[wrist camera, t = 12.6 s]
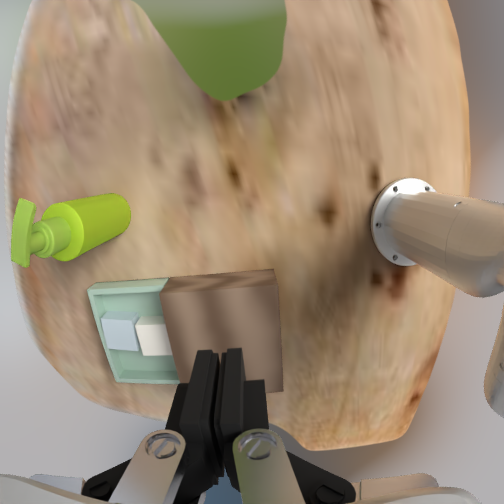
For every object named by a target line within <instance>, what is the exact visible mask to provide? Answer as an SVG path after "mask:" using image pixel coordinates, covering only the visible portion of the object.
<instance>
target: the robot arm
mask: <svg viewBox="0 0 504 504" xmlns="http://www.w3.org/2000/svg"><path fill="white" fill-rule="evenodd" d="M393 188H394V190H393ZM376 223H377V226H376ZM371 232H372V237H373V240H374V243H375V245H376V247H377V249H378V250H379V252H380V253H381V254H382V255H383V256H384V257H385V258H386V259H388V260H389V261H391V262H392V263H395V264H398V265H401V266H411V265H416V264H418V265H420V266H422V267H423V268H425V269H427V270H428V271H430V272H432V273H433V274H435V275H437V276H438V277H440V278H442V279H443V280H445V281H447V282H448V283H450V284H452V285H453V286H455V287H456V288H458V289H460V290H462V291H463V292H465V293H467V294H469V295H471V296H474V297H482V298H484V297H490V296H493V295H497V294H499V293H501V292H503V291H504V203H499V202H493V201H488V200H480V199H474V198H469V197H463V196H457V195H451V194H444V193H437V192H436V190H435V189H434V188H433V187H432V186H431V185H430V184H428V183H427V182H425V181H423V180H420V179H417V178H402V179H398V180H396V181H394V182H392V183H390V184H389V185H388V186H387V187H385V188H384V190H383V191H382V192H381V193H380V195H379V196H378V198H377V200H376V202H375V204H374V207H373V210H372V216H371ZM393 256H394V257H393ZM484 393H485V397H486V400H487V402H488V404H489V405H490V407H491V408H492V409H493V410H494V411H495V412H496V413H497V414H499V415H500V416H501V417H503V418H504V305H503V311H502V317H501V322H500V325H499V329H498V333H497V337H496V340H495V344H494V347H493V350H492V353H491V357H490V360H489V364H488V367H487V370H486V374H485V380H484ZM224 468H225V469H226V472H227V475H228V477H229V478H230V482H231V485H232V487H233V488H235V489H236V490H238V491H239V492H240V493H241V496H242V501H243V504H481V503H480V501H479V500H478V499H477V498H476V497H475V496H474V495H473V494H471V493H470V492H468V491H466V490H464V489H461V488H455V487H439V485H438V483H437V481H436V479H435V478H434V477H432V476H431V475H428V474H425V473H417V474H411V475H404V476H397V477H387V478H376V479H363V480H361V482H356V483H350V482H348V481H347V480H345V479H343V478H341V477H338V476H336V475H334V474H332V473H330V472H328V471H325V470H323V469H321V468H319V467H317V466H315V465H313V464H311V463H309V462H307V461H305V460H303V459H301V458H299V457H297V456H295V455H293V454H291V453H290V452H287V451H286V450H285V447H284V444H283V441H282V439H281V438H280V436H279V435H278V434H276V433H275V432H273V431H271V430H269V426H268V414H267V403H266V392H265V380H264V379H260V380H247V381H246V375H245V367H244V360H243V352H242V348H228V349H227V352H223V353H222V356H221V364H220V360H219V355H218V353H213V350H212V349H210V350H198V351H197V354H196V358H195V361H194V365H193V369H192V373H191V377H190V381H189V383H179V384H178V386H177V390H176V393H175V396H174V400H173V403H172V407H171V410H170V413H169V417H168V420H167V424H166V428H165V430H157V431H155V432H152V433H150V434H148V435H147V436H146V437H145V438H144V439H143V440H142V442H141V443H140V445H139V447H138V449H137V451H136V452H135V454H134V456H133V458H131V459H130V460H128V461H125V462H123V463H121V464H119V465H117V466H115V467H113V468H111V469H109V470H107V471H105V472H102V473H100V474H98V475H96V476H94V477H92V478H90V479H89V480H87V481H85V480H84V479H83V478H74V477H62V476H52V475H43V474H36V475H33V476H31V477H30V478H25V477H21V476H15V475H7V474H6V475H5V474H0V504H204V501H205V496H206V492H205V491H206V490H208V489H209V488H211V487H212V486H213V485H218V477H224Z"/></svg>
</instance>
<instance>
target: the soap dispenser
mask: <svg viewBox="0 0 504 504" xmlns="http://www.w3.org/2000/svg"><path fill="white" fill-rule="evenodd" d="M35 212H36V205H35V204H34V203H32V202H29V201H27V200H24V199H22V198H20V199H19V201H18V205H17V208H16V212H15V216H14V221H13V227H12V238H11V261H13V262H15V263H17V264H19V265H21V266H23V267H25V268H26V267H28V266H29V264H30V255H31V254H35V255H36V256H38V257H40V258H47V257H49V256H52V257H53V258H55V259H57V260H59V261H69V260H72V259H74V258H76V257H78V256H79V255H81V254H83V253H85V252H87V251H89V250H91V249H92V248H94V247H96V246H98V245H100V244H102V243H104V242H106V241H108V240H110V239H112V238H114V237H115V236H117V235H119V234H121V233H123V232H124V231H125V230H126V229H127V227H128V226H129V223H130V219H131V211H130V207H129V205H128V203H127V201H126V200H125V199H124V198H123V197H122V196H120V195H118V194H114V193H110V194H104V195H98V196H92V197H87V198H81V199H76V200H71V201H66V202H61V203H56V204H53V205H51V206H50V207H49V208H47V210H46V211H45V212H44V214H43V216H42V219H41V221H38V222H36V223H34V224H33V220H34V216H35Z"/></svg>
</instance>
